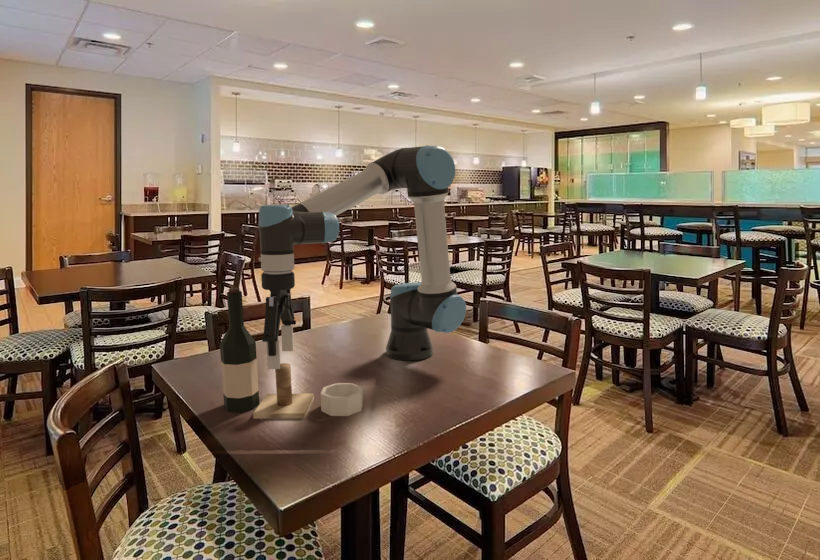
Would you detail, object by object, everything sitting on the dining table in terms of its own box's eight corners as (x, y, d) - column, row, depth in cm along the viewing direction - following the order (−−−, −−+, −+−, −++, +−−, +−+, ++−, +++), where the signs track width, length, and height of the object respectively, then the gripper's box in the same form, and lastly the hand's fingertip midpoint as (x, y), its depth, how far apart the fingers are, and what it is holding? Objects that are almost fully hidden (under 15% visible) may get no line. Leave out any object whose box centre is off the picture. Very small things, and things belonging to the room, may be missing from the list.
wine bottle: (244, 398, 138) (237, 284, 133) (266, 405, 134) (259, 287, 128) (217, 409, 131) (207, 289, 126) (239, 417, 127) (230, 293, 122)
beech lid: (314, 397, 137) (312, 357, 135) (304, 418, 125) (302, 374, 123) (267, 398, 137) (264, 358, 135) (253, 418, 125) (250, 374, 123)
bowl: (363, 401, 136) (363, 382, 135) (360, 418, 126) (359, 397, 125) (325, 402, 136) (325, 383, 135) (319, 418, 126) (318, 398, 125)
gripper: (275, 264, 137) (278, 344, 141) (245, 280, 113) (249, 377, 116) (304, 264, 137) (307, 344, 141) (280, 280, 113) (284, 377, 116)
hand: (281, 359), depth 128 cm, fingers open, 13 cm apart
